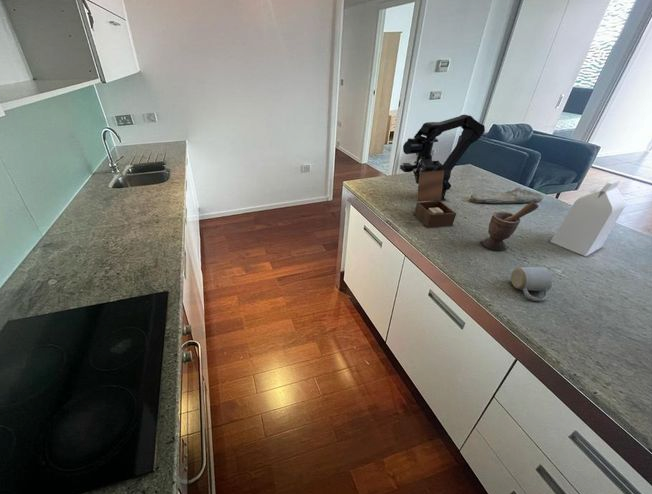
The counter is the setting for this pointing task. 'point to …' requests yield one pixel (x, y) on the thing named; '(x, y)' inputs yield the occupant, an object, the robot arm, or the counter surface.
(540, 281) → the ceramic mug
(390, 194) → the counter surface
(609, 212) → the milk
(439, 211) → the block
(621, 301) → the counter surface
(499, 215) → the mortar and pestle
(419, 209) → the chest
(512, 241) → the counter surface
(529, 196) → the elongated rock
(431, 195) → the lid
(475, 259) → the counter surface
